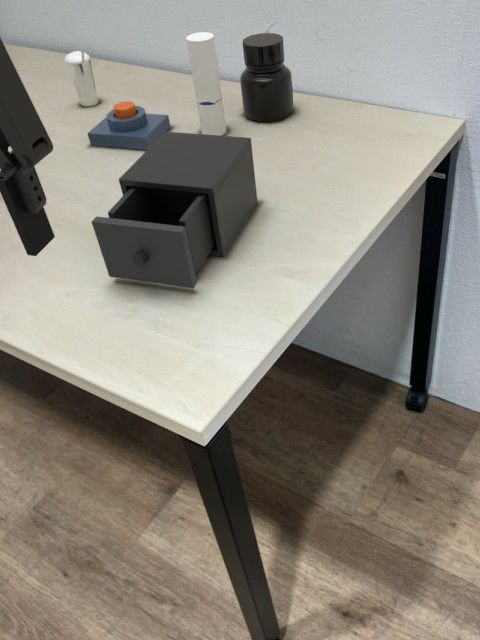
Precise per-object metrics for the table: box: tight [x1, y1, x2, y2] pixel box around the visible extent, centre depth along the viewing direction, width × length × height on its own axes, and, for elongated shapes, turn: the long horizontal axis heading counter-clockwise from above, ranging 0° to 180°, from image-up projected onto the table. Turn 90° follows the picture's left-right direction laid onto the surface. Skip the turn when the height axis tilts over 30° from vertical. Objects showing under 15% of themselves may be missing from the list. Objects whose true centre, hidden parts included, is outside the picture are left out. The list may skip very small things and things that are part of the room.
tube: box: [185, 31, 227, 136], centre depth 100 cm, size 4×4×15 cm
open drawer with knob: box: [91, 186, 216, 290], centre depth 75 cm, size 14×11×8 cm
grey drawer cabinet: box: [118, 131, 259, 257], centre depth 81 cm, size 14×13×10 cm
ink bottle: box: [239, 32, 294, 122], centre depth 105 cm, size 10×9×12 cm
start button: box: [112, 100, 137, 119], centre depth 103 cm, size 4×4×2 cm
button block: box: [87, 105, 171, 151], centre depth 105 cm, size 11×9×4 cm
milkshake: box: [64, 50, 99, 107], centre depth 114 cm, size 5×5×10 cm
